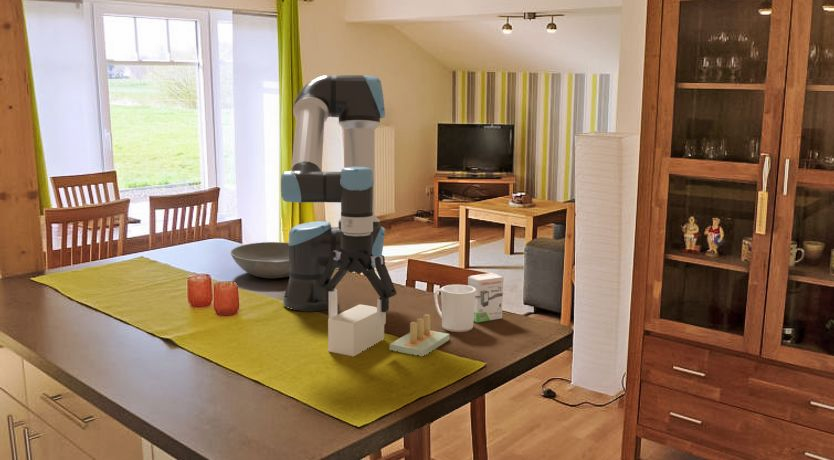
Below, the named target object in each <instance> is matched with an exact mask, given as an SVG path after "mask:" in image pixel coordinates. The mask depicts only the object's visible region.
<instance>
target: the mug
mask: <svg viewBox="0 0 834 460" xmlns="http://www.w3.org/2000/svg"><path fill="white" fill-rule="evenodd" d="M439 293H440V298H441V299H440V300H441V309H440V306H439V301H438V294H439ZM475 294H476V289H475V288H474V287H471V286H468V284H447V285H444V286H441V288H437V289H436V290H435V291H434V294H433V300H434V305H435V309H436V311H437V314H438V316H439V317H440V318H441V327H442V329H443V330H445V331H449V332H453V333H465V332H469V331H471V330H472V329H473V328H474V322H475V321H474V308H475Z"/></svg>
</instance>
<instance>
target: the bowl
mask: <svg viewBox="0 0 834 460" xmlns="http://www.w3.org/2000/svg"><path fill="white" fill-rule="evenodd" d="M288 243H289V242H281V241H267V242H266V241H265V242H255V243H248V244H242V245H239V246H236V247H234V248H233V249H231V250H230V255H231V257H232V259H233V260H234V262H235V263H236V265H237V266H238V267H239V268H241V269H242V270H243V271H245V272H246V273H248V274H250V275H252V276H254V277H256V278H257V277H258V278H263V279H273V280H274V279H282V278H283V279H284V278H288V277H289V246H288Z"/></svg>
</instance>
